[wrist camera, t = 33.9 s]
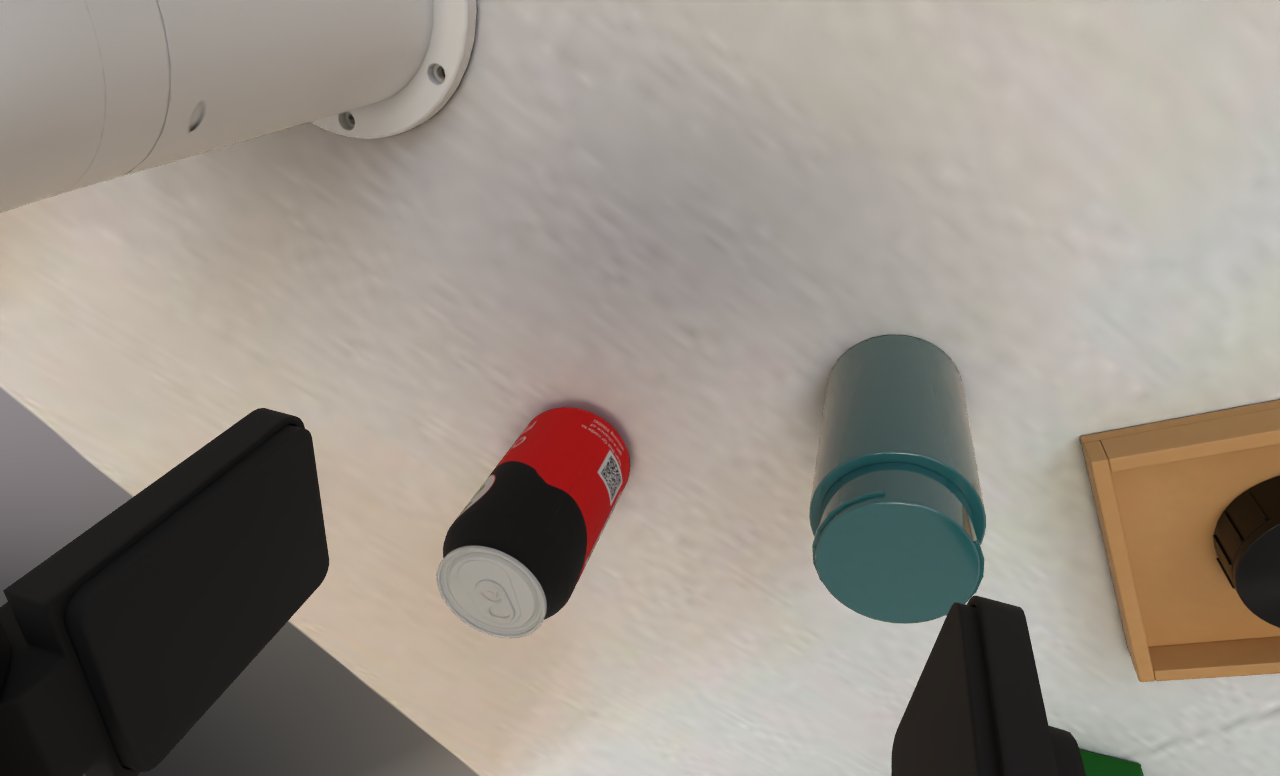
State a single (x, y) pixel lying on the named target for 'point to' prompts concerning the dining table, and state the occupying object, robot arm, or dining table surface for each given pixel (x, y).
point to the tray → (1183, 538)
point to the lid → (1253, 548)
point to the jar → (897, 484)
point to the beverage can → (533, 524)
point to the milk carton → (1108, 765)
